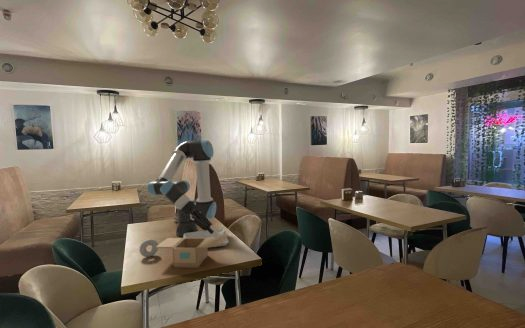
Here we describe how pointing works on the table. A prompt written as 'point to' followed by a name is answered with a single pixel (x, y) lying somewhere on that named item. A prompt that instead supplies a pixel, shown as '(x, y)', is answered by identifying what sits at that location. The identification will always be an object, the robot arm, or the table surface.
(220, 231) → the square plate
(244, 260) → the table surface
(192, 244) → the carton
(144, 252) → the donut
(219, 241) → the flap
